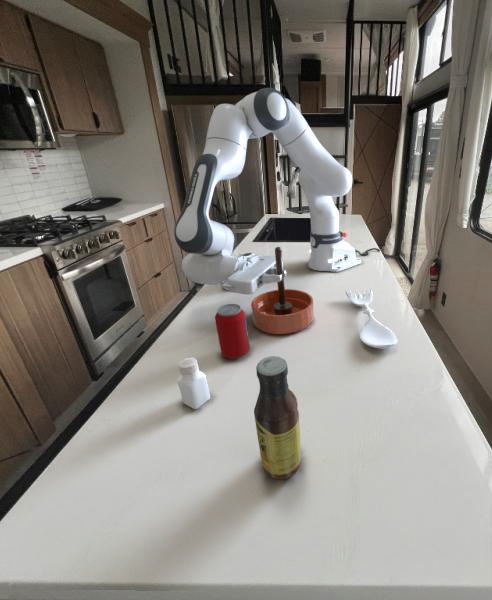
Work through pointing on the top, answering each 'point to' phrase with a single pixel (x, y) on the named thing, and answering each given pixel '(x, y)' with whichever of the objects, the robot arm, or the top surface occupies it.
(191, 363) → the pepper shaker
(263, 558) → the top surface
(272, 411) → the sauce bottle
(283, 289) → the brown rod on stand
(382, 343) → the spoon
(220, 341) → the beverage can
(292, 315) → the bowl
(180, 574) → the top surface
